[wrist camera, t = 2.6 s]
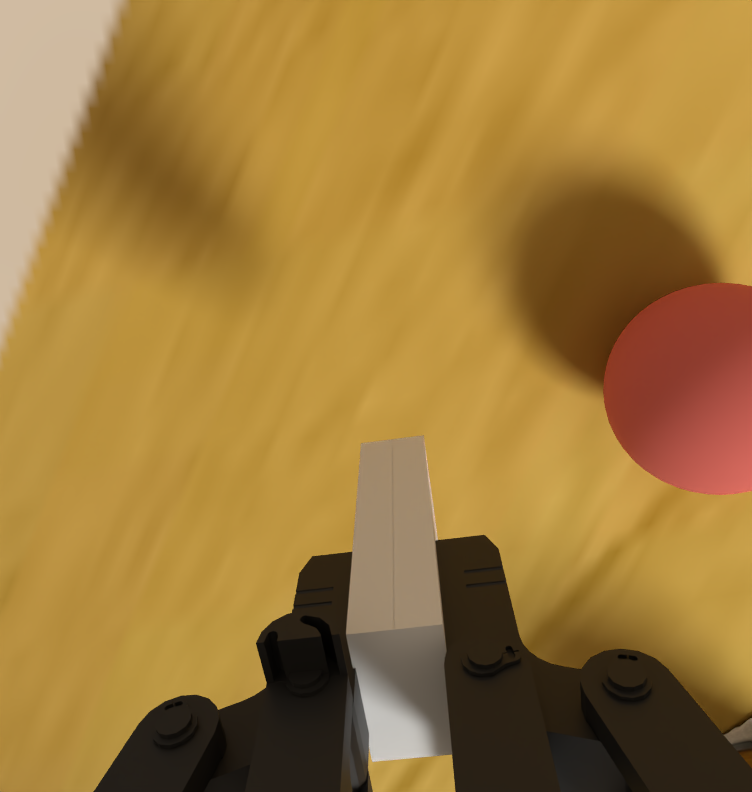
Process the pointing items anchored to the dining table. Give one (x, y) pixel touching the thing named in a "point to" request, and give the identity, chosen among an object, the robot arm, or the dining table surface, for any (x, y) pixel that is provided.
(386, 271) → the dining table surface
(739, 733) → the condiment
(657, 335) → the ball
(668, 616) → the dining table surface
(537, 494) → the dining table surface
